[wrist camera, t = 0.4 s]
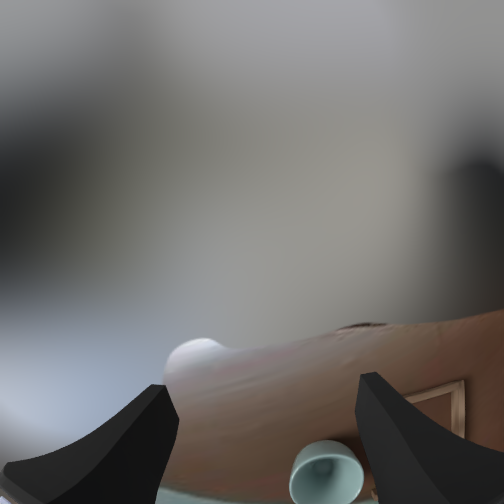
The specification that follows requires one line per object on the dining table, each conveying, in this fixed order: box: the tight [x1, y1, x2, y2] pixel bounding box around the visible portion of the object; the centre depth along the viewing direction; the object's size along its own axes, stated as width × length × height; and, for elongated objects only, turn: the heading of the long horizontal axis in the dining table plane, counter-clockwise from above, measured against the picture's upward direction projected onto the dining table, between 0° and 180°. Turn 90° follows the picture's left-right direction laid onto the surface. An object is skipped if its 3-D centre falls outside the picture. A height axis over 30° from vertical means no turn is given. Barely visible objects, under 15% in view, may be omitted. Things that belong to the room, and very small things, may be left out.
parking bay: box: [371, 380, 465, 501], centre depth 25 cm, size 15×14×2 cm
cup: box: [289, 440, 364, 504], centre depth 23 cm, size 8×8×10 cm
